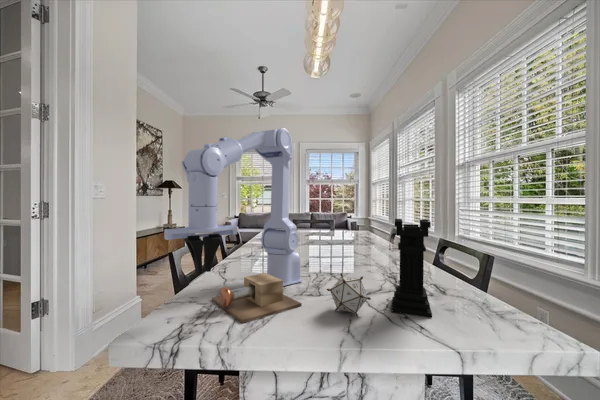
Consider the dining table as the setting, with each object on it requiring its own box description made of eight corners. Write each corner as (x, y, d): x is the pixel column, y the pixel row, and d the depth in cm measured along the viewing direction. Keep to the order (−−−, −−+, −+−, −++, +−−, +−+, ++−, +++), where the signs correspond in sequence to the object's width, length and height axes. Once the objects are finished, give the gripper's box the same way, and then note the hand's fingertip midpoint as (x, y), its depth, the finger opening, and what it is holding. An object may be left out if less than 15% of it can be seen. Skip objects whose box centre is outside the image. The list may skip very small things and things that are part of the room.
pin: (258, 294, 69) (258, 277, 69) (267, 299, 66) (267, 282, 66) (219, 304, 63) (219, 285, 63) (227, 310, 60) (227, 290, 60)
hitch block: (265, 288, 78) (265, 268, 77) (301, 305, 65) (301, 282, 65) (212, 300, 68) (212, 277, 68) (242, 323, 56) (242, 296, 56)
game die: (348, 333, 60) (336, 305, 54) (328, 306, 67) (315, 278, 61) (381, 309, 62) (373, 279, 56) (358, 285, 69) (348, 257, 63)
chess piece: (428, 304, 67) (428, 219, 66) (432, 317, 59) (432, 222, 59) (392, 300, 69) (393, 218, 69) (391, 312, 62) (392, 221, 61)
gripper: (228, 205, 66) (227, 263, 66) (160, 206, 57) (160, 272, 58) (241, 206, 61) (241, 269, 61) (169, 207, 52) (169, 281, 52)
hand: (203, 271), depth 59 cm, fingers closed
